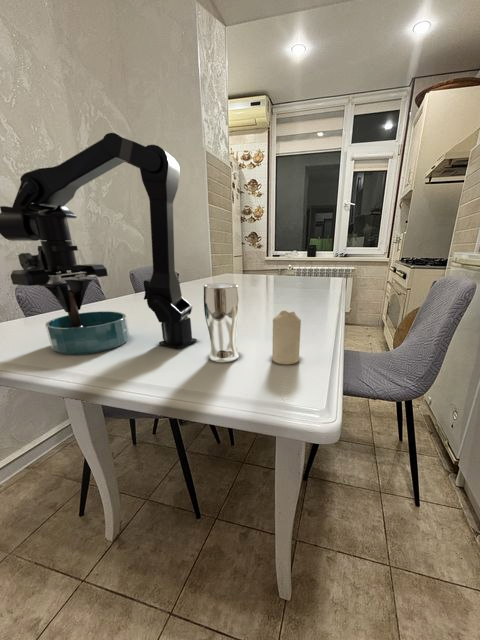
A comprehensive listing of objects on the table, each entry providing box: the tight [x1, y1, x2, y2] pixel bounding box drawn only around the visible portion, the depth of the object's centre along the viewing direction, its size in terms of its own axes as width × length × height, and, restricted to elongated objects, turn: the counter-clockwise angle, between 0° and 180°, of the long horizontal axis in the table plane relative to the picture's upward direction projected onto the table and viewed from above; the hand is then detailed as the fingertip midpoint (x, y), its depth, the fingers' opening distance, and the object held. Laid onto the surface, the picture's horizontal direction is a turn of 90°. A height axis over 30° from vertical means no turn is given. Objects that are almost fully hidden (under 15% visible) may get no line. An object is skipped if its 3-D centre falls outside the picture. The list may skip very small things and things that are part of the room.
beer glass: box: [203, 282, 240, 363], centre depth 59 cm, size 7×7×15 cm
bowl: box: [45, 310, 130, 355], centre depth 69 cm, size 16×16×6 cm
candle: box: [271, 310, 302, 365], centre depth 58 cm, size 6×6×10 cm
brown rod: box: [67, 289, 84, 328], centre depth 69 cm, size 3×3×12 cm
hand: (73, 311), depth 69 cm, fingers closed on brown rod, 2 cm apart
